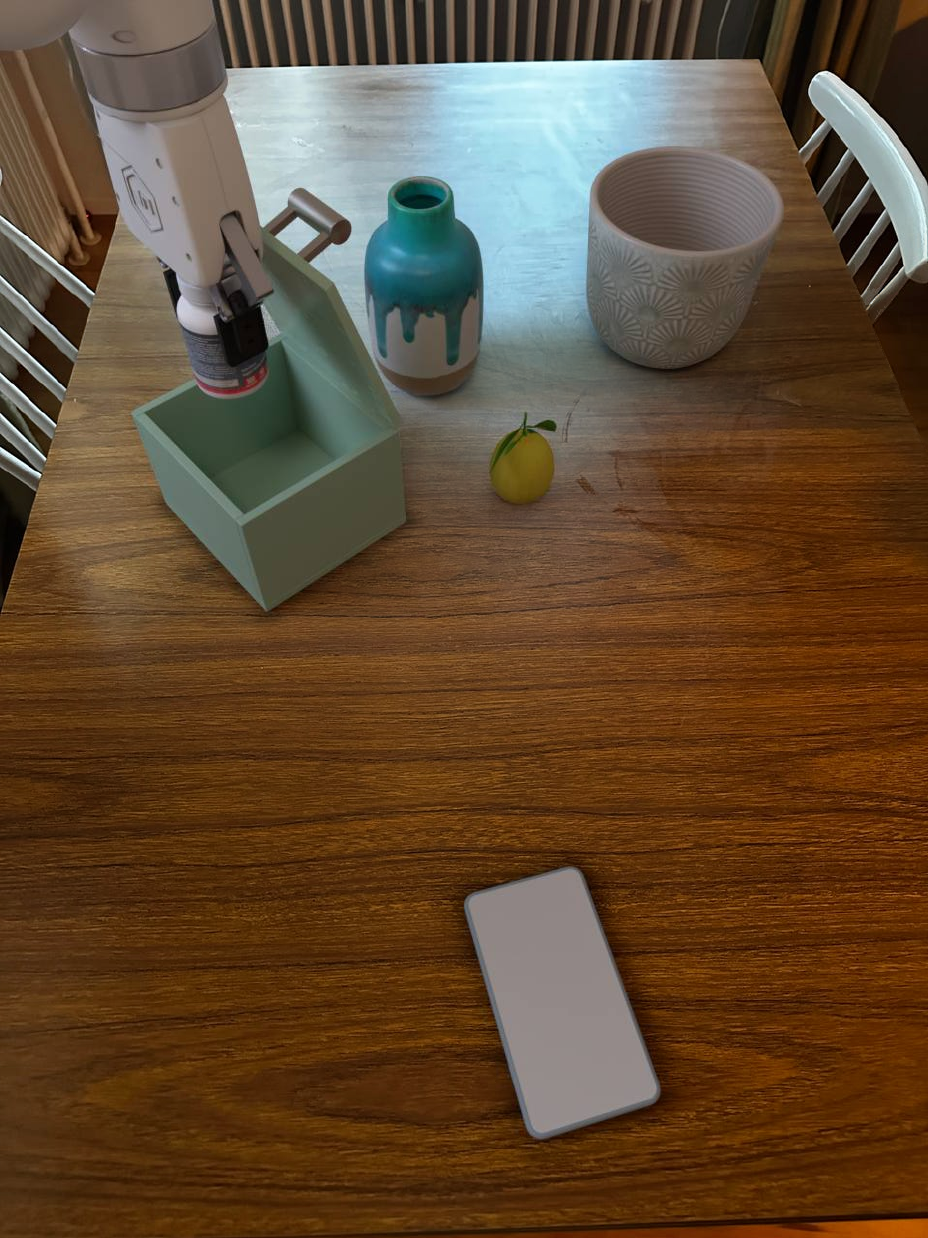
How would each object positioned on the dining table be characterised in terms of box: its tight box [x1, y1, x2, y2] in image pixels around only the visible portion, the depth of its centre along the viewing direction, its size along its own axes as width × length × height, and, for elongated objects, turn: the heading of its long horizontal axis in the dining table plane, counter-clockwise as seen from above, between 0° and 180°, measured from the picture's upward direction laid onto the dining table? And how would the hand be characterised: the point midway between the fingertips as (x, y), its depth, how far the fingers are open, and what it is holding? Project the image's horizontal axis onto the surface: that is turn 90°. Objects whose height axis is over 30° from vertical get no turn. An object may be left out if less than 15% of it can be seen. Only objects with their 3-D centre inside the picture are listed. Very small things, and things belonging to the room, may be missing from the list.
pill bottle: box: [176, 254, 269, 399], centre depth 65 cm, size 5×5×9 cm
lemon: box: [489, 411, 558, 505], centre depth 80 cm, size 7×6×10 cm
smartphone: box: [463, 865, 661, 1141], centre depth 60 cm, size 8×1×15 cm
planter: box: [585, 145, 785, 370], centre depth 90 cm, size 17×17×15 cm
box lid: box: [260, 187, 403, 429], centre depth 70 cm, size 15×16×6 cm
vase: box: [363, 175, 485, 396], centre depth 85 cm, size 11×11×19 cm
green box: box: [130, 332, 407, 613], centre depth 79 cm, size 15×16×11 cm
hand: (222, 332), depth 66 cm, fingers closed on pill bottle, 5 cm apart
